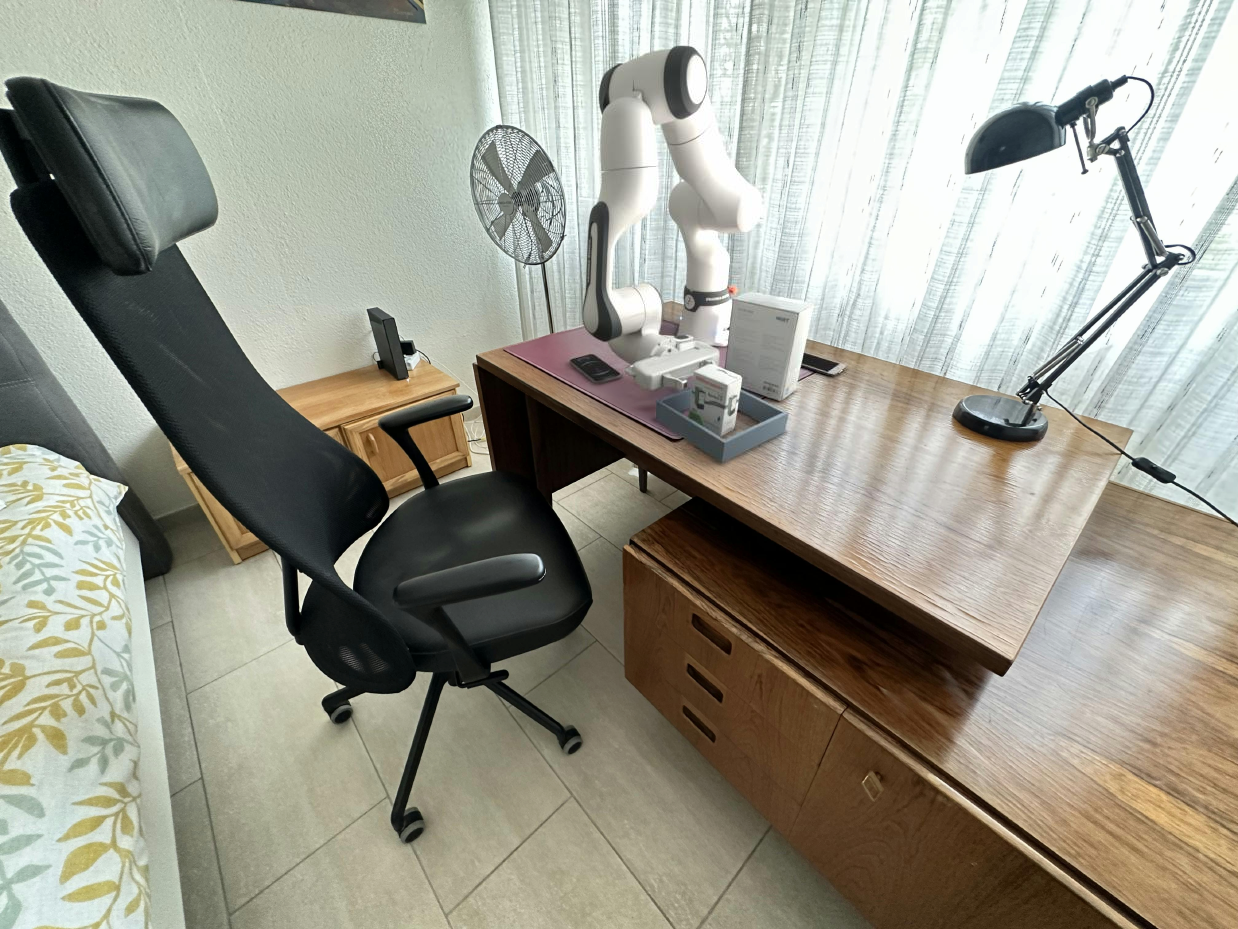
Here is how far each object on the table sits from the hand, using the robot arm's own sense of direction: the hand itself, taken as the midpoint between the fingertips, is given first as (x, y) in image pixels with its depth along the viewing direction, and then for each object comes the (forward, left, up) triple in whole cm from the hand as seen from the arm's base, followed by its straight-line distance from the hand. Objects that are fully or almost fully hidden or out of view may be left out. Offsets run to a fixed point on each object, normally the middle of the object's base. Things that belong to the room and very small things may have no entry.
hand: (702, 379), depth 95 cm
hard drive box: (-21, -2, -9) cm, 23 cm away
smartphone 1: (+5, -33, -9) cm, 35 cm away
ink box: (0, +4, -9) cm, 10 cm away
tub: (-1, +5, -9) cm, 10 cm away
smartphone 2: (-41, -2, -9) cm, 42 cm away
